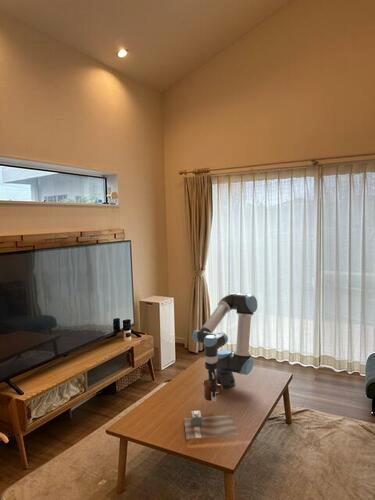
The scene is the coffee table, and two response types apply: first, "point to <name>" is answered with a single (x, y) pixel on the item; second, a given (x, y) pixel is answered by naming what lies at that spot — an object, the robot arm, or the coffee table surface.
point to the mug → (209, 389)
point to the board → (210, 427)
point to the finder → (196, 418)
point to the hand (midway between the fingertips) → (212, 397)
